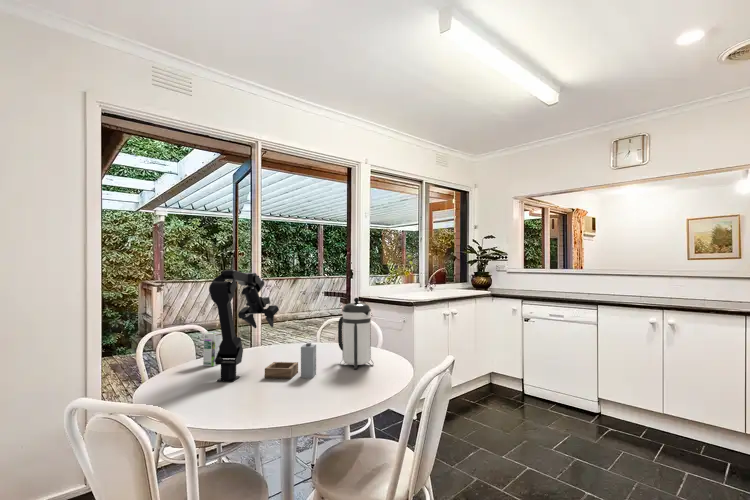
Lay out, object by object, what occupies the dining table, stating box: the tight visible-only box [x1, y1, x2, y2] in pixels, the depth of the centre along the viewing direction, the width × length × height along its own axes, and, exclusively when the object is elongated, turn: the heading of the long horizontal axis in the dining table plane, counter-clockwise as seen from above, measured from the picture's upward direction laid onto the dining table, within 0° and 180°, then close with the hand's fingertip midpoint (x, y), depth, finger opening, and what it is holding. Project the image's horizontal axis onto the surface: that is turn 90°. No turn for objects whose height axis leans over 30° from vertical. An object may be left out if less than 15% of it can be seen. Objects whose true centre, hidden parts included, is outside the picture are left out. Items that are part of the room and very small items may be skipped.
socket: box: [264, 361, 299, 380], centre depth 156 cm, size 10×10×4 cm
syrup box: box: [202, 331, 222, 367], centre depth 174 cm, size 6×6×14 cm
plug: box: [300, 342, 317, 379], centre depth 155 cm, size 5×5×13 cm
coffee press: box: [337, 297, 375, 371], centre depth 172 cm, size 17×16×30 cm
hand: (264, 327), depth 179 cm, fingers open, 9 cm apart
